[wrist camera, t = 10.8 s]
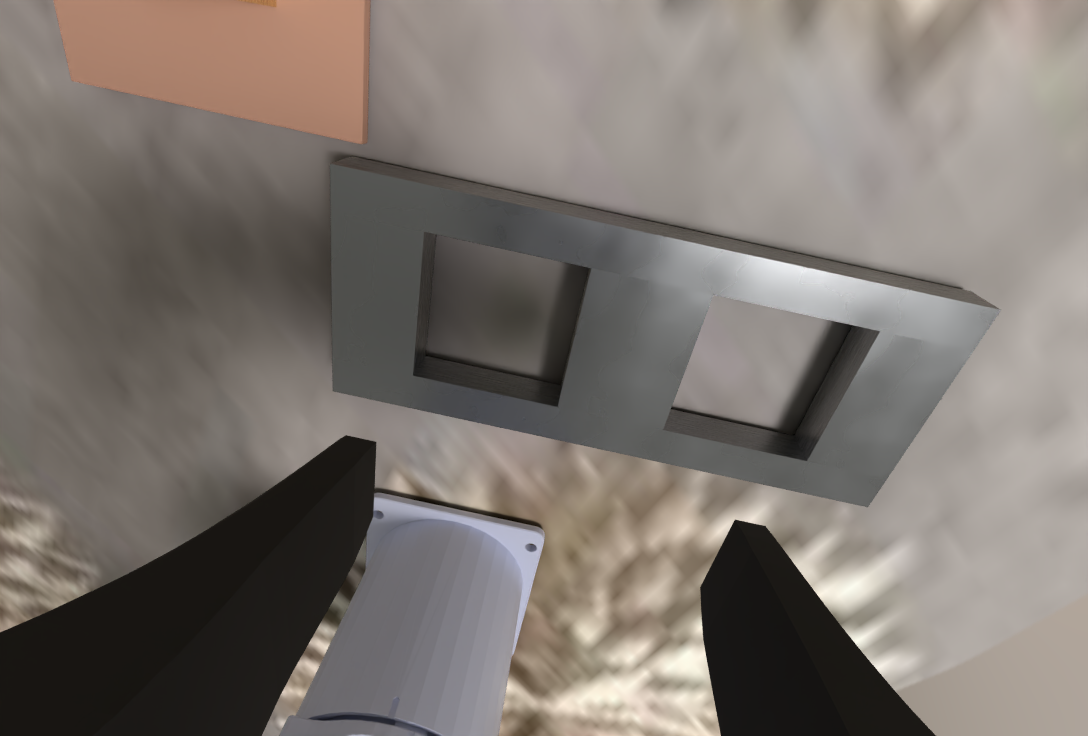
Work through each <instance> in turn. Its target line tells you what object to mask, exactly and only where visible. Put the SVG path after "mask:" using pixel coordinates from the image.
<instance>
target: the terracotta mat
mask: <svg viewBox="0 0 1088 736" xmlns="http://www.w3.org/2000/svg"><path fill="white" fill-rule="evenodd" d="M54 5H55V9H56V14H57V18H58V22H59V27H60V31H61V36H62V40H63V45H64V49H65V53H66V58H67V62H68V67H69V71H70V76H71V80H72V81H75V82H79V83H84V84H88V85H93V86H98V87H102V88H107V89H111V90H116V91H120V92H125V93H130V94H134V95H139V96H143V97H148V98H152V99H157V100H162V101H166V102H171V103H175V104H180V105H185V106H189V107H194V108H198V109H203V110H207V111H212V112H217V113H221V114H226V115H230V116H235V117H239V118H244V119H249V120H253V121H258V122H262V123H267V124H271V125H276V126H281V127H285V128H290V129H294V130H299V131H304V132H308V133H313V134H317V135H322V136H326V137H331V138H336V139H340V140H345V141H349V142H354V143H358V144H365V143H367V134H368V87H369V39H370V0H276V5H277V7H272V6H266V5H260V4H255V3H249V2H244V1H238V0H54Z"/></svg>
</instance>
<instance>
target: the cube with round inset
mask: <svg viewBox="0 0 1088 736" xmlns="http://www.w3.org/2000/svg"><path fill="white" fill-rule="evenodd" d="M238 1H244V2H249V3H255V4H260V5H266V6H272V7H277V5H276V0H238Z"/></svg>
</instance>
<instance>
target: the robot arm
mask: <svg viewBox="0 0 1088 736" xmlns="http://www.w3.org/2000/svg"><path fill="white" fill-rule="evenodd" d="M375 462H376V442H374V441H370V440H365V439H360V438H356V437H351V436H347V435H346V436H344V437H342V438H341V439H339V440H338V441H337V442H335V443H334V444H332V445H331V446H330V447H328V448H327V449H326V450H324V451H323V452H321V453H320V454H319V455H317V456H316V457H315V458H313V459H312V460H310V461H309V462H308V463H306V464H305V465H304V466H302V467H301V468H299V469H298V470H297V471H295V472H294V473H292V474H291V475H290V476H288V477H287V478H285V479H284V480H282V481H281V482H280V483H278V484H277V485H275V486H274V487H272V488H271V489H269V490H268V491H266V492H265V493H263V494H262V495H260V496H259V497H258V498H256V499H255V500H253V501H252V502H250V503H249V504H247V505H246V506H244V507H243V508H241V509H239V510H238V511H236V512H235V513H233V514H231V515H230V516H228V517H227V518H225V519H223V520H222V521H220V522H219V523H217V524H215V525H214V526H212V527H210V528H209V529H207V530H206V531H204V532H202V533H201V534H199V535H197V536H196V537H194V538H192V539H191V540H189V541H187V542H185V543H184V544H182V545H180V546H179V547H177V548H175V549H173V550H171V551H170V552H168V553H166V554H164V555H162V556H161V557H159V558H157V559H155V560H153V561H151V562H149V563H148V564H146V565H144V566H142V567H140V568H138V569H136V570H134V571H133V572H131V573H129V574H127V575H125V576H123V577H121V578H119V579H117V580H115V581H112V582H110V583H108V584H106V585H104V586H102V587H100V588H98V589H96V590H94V591H91V592H89V593H87V594H85V595H83V596H81V597H79V598H77V599H74V600H72V601H70V602H68V603H66V604H64V605H62V606H60V607H57V608H55V609H53V610H51V611H49V612H47V613H45V614H42V615H40V616H38V617H35V618H33V619H31V620H29V621H26V622H24V623H21V624H19V625H17V626H14V627H12V628H10V629H7V630H5V631H3V632H0V736H262V734H263V732H264V729H265V727H266V725H267V723H268V721H269V719H270V716H271V714H272V712H273V710H274V708H275V705H276V703H277V701H278V699H279V697H280V695H281V693H282V691H283V689H284V687H285V685H286V683H287V682H288V680H289V678H290V676H291V674H292V672H293V670H294V668H295V667H296V665H297V663H298V661H299V660H300V658H301V656H302V654H303V653H304V651H305V649H306V647H307V645H308V644H309V642H310V640H311V638H312V637H313V635H314V633H315V631H316V630H317V628H318V626H319V624H320V623H321V621H322V619H323V617H324V616H325V614H326V612H327V610H328V608H329V607H330V605H331V603H332V601H333V600H334V598H335V596H336V594H337V593H338V591H339V589H340V587H341V585H342V584H343V582H344V580H345V578H346V576H347V575H348V573H349V571H350V569H351V567H352V566H353V564H354V561H355V559H356V557H357V554H358V552H359V550H360V548H361V545H362V543H363V541H364V538H365V536H366V533H367V543H366V571H365V573H364V575H363V577H362V579H361V581H360V583H359V585H358V587H357V589H356V591H355V593H354V596H353V598H352V600H351V602H350V604H349V606H348V608H347V610H346V612H345V614H344V616H343V618H342V620H341V623H340V625H339V627H338V629H337V631H336V633H335V635H334V637H333V639H332V641H331V643H330V645H329V647H328V650H327V652H326V654H325V656H324V658H323V660H322V662H321V664H320V666H319V668H318V670H317V672H316V675H315V677H314V679H313V681H312V683H311V685H310V687H309V689H308V691H307V693H306V695H305V697H304V699H303V702H302V704H301V706H300V708H299V710H298V712H297V714H296V716H294V715H291V716H289V717H288V718H287V720H286V722H285V724H284V726H283V728H282V731H281V733H280V735H279V736H499V730H500V724H501V718H502V712H503V705H504V699H505V693H506V687H507V681H508V675H509V669H510V663H511V656H512V655H513V654H514V651H515V647H516V643H517V640H518V636H519V632H520V629H521V625H522V621H523V618H524V614H525V610H526V607H527V603H528V599H529V595H530V592H531V588H532V584H533V581H534V577H535V573H536V570H537V566H538V562H539V559H540V555H541V551H542V547H543V544H544V538H545V533H544V531H543V530H542V529H541V528H539V527H536V526H532V525H528V524H523V523H518V522H514V521H509V520H505V519H500V518H495V517H491V516H486V515H481V514H477V513H472V512H468V511H463V510H458V509H454V508H449V507H444V506H440V505H435V504H431V503H426V502H421V501H417V500H412V499H408V498H403V497H398V496H394V495H389V494H384V493H374V487H375ZM377 510H379V511H381V512H382V513H381V512H379V511H377ZM530 544H534V545H530ZM700 590H701V612H702V627H703V640H704V645H705V651H706V657H707V663H708V668H709V674H710V679H711V685H712V690H713V695H714V701H715V706H716V711H717V717H718V722H719V727H720V733H721V736H935V735H934V733H933V732H932V731H931V730H930V729H929V728H928V727H927V726H926V725H925V724H924V723H923V722H922V721H921V720H920V718H919V717H918V716H917V715H916V714H915V713H914V712H913V711H912V710H911V709H910V708H909V706H908V705H907V704H906V703H905V702H904V701H903V700H902V699H901V697H900V696H899V695H898V694H897V693H896V692H895V691H894V690H893V688H892V687H891V686H890V685H889V684H888V682H887V681H886V680H885V679H884V678H883V676H882V675H881V674H880V673H879V672H878V671H877V669H876V668H875V667H874V666H873V665H872V663H871V662H870V661H869V660H868V659H867V658H866V656H865V655H864V654H863V653H862V651H861V650H860V649H859V648H858V647H857V645H856V644H855V643H854V642H853V640H852V639H851V638H850V637H849V635H848V634H847V633H846V632H845V630H844V629H843V628H842V627H841V625H840V624H839V623H838V621H837V620H836V619H835V618H834V616H833V615H832V614H831V612H830V611H829V610H828V608H827V607H826V606H825V605H824V603H823V602H822V601H821V599H820V598H819V597H818V595H817V594H816V593H815V591H814V590H813V589H812V587H811V586H810V585H809V583H808V582H807V581H806V579H805V578H804V577H803V575H802V574H801V573H800V571H799V570H798V569H797V567H796V566H795V565H794V563H793V562H792V560H791V559H790V558H789V556H788V555H787V554H786V552H785V551H784V550H783V548H782V547H781V546H780V544H779V543H778V542H777V540H776V539H775V538H774V537H773V535H772V534H771V533H770V531H769V530H768V529H767V528H766V526H762V525H757V524H753V523H748V522H743V521H739V520H735V521H734V523H733V525H732V527H731V528H730V530H729V532H728V534H727V536H726V538H725V540H724V542H723V544H722V546H721V548H720V550H719V552H718V554H717V556H716V558H715V560H714V562H713V564H712V566H711V567H710V569H709V571H708V573H707V575H706V577H705V579H704V581H703V583H702V585H701V587H700Z"/></svg>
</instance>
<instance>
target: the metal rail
mask: <svg viewBox="0 0 1088 736" xmlns="http://www.w3.org/2000/svg"><path fill="white" fill-rule="evenodd" d="M330 203H331V288H332V373H333V391H335V392H339V393H344V394H348V395H353V396H358V397H362V398H367V399H371V400H376V401H381V402H385V403H390V404H394V405H399V406H404V407H408V408H413V409H417V410H422V411H427V412H431V413H436V414H441V415H445V416H450V417H454V418H459V419H464V420H468V421H473V422H477V423H482V424H487V425H491V426H496V427H500V428H505V429H510V430H514V431H519V432H523V433H528V434H533V435H537V436H542V437H547V438H551V439H556V440H560V441H565V442H570V443H574V444H579V445H583V446H588V447H593V448H597V449H602V450H606V451H611V452H616V453H620V454H625V455H630V456H634V457H639V458H643V459H648V460H653V461H657V462H662V463H666V464H671V465H676V466H680V467H685V468H689V469H694V470H699V471H703V472H708V473H712V474H717V475H722V476H726V477H731V478H736V479H740V480H745V481H749V482H754V483H759V484H763V485H768V486H772V487H777V488H782V489H786V490H791V491H795V492H800V493H805V494H809V495H814V496H818V497H823V498H828V499H832V500H837V501H842V502H846V503H851V504H855V505H860V506H865V507H868V506H869V505H870V503H871V502H872V500H873V499H874V497H875V496H876V494H877V493H878V491H879V490H880V488H881V487H882V486H883V484H884V483H885V481H886V480H887V478H888V477H889V475H890V474H891V472H892V471H893V469H894V468H895V466H896V465H897V463H898V462H899V460H900V459H901V457H902V456H903V454H904V453H905V451H906V450H907V449H908V447H909V446H910V444H911V443H912V441H913V440H914V438H915V437H916V435H917V434H918V432H919V431H920V429H921V428H922V426H923V425H924V423H925V422H926V420H927V419H928V417H929V416H930V414H931V413H932V412H933V410H934V409H935V407H936V406H937V404H938V403H939V401H940V400H941V398H942V397H943V395H944V394H945V392H946V391H947V389H948V388H949V386H950V385H951V383H952V382H953V380H954V379H955V377H956V376H957V375H958V373H959V372H960V370H961V369H962V367H963V366H964V364H965V363H966V361H967V360H968V358H969V357H970V355H971V354H972V352H973V351H974V349H975V348H976V346H977V345H978V343H979V342H980V340H981V339H982V338H983V336H984V335H985V333H986V332H987V330H988V329H989V327H990V326H991V324H992V323H993V321H994V320H995V318H996V317H997V315H998V314H999V312H1000V311H1001V310H1000V309H999V308H997V307H995V306H994V305H992V304H990V303H989V302H987V301H986V300H984V299H982V298H981V297H979V296H978V295H976V294H974V293H973V292H971V291H967V290H962V289H958V288H953V287H948V286H944V285H939V284H935V283H930V282H926V281H921V280H916V279H912V278H907V277H903V276H898V275H894V274H889V273H884V272H880V271H875V270H871V269H866V268H861V267H857V266H852V265H848V264H843V263H839V262H834V261H829V260H825V259H820V258H816V257H811V256H807V255H802V254H797V253H793V252H788V251H784V250H779V249H774V248H770V247H765V246H761V245H756V244H752V243H747V242H742V241H738V240H733V239H729V238H724V237H720V236H715V235H710V234H706V233H701V232H697V231H692V230H687V229H683V228H678V227H674V226H669V225H665V224H660V223H655V222H651V221H646V220H642V219H637V218H633V217H628V216H623V215H619V214H614V213H610V212H605V211H600V210H596V209H591V208H587V207H582V206H578V205H573V204H568V203H564V202H559V201H555V200H550V199H546V198H541V197H536V196H532V195H527V194H523V193H518V192H514V191H509V190H504V189H500V188H495V187H491V186H486V185H481V184H477V183H472V182H468V181H463V180H459V179H454V178H449V177H445V176H440V175H436V174H431V173H427V172H422V171H417V170H413V169H408V168H404V167H399V166H394V165H390V164H385V163H381V162H376V161H372V160H367V159H362V158H358V157H353V156H350V157H347V158H345V159H342V160H339V161H336V162H333V163H330ZM436 234H437V235H441V236H446V237H450V238H455V239H460V240H464V241H469V242H473V243H478V244H483V245H487V246H492V247H496V248H501V249H505V250H510V251H515V252H519V253H524V254H528V255H533V256H538V257H542V258H547V259H551V260H556V261H560V262H565V263H570V264H574V265H579V266H583V267H588V268H589V270H588V274H587V279H586V283H585V287H584V291H583V295H582V299H581V303H580V308H579V312H578V316H577V320H576V324H575V328H574V332H573V336H572V341H571V345H570V349H569V353H568V357H567V361H566V365H565V370H564V374H563V378H562V382H561V385H558V384H553V383H548V382H544V381H539V380H535V379H530V378H525V377H521V376H516V375H512V374H507V373H502V372H498V371H493V370H488V369H484V368H479V367H475V366H470V365H465V364H461V363H456V362H452V361H447V360H442V359H438V358H433V357H429V356H426V345H427V334H428V323H429V311H430V300H431V289H432V278H433V266H434V255H435V244H436ZM713 295H716V296H721V297H726V298H730V299H735V300H739V301H744V302H749V303H753V304H758V305H762V306H767V307H771V308H776V309H781V310H785V311H790V312H794V313H799V314H804V315H808V316H813V317H817V318H822V319H826V320H831V321H836V322H840V323H845V324H849V325H853V326H852V328H851V330H850V332H849V334H848V335H847V337H846V339H845V341H844V343H843V345H842V347H841V349H840V351H839V352H838V354H837V356H836V358H835V360H834V362H833V364H832V366H831V367H830V369H829V371H828V373H827V375H826V377H825V379H824V381H823V382H822V384H821V386H820V388H819V390H818V392H817V394H816V396H815V398H814V399H813V401H812V403H811V405H810V407H809V409H808V411H807V413H806V414H805V416H804V418H803V420H802V422H801V424H800V426H799V428H798V429H797V431H796V433H795V435H794V436H792V435H788V434H783V433H778V432H774V431H769V430H765V429H760V428H755V427H751V426H746V425H742V424H737V423H732V422H728V421H723V420H719V419H714V418H709V417H705V416H700V415H696V414H691V413H686V412H682V411H677V410H673V409H671V407H672V404H673V402H674V399H675V396H676V394H677V391H678V388H679V386H680V383H681V380H682V378H683V375H684V372H685V370H686V367H687V364H688V362H689V359H690V356H691V354H692V351H693V348H694V346H695V343H696V340H697V338H698V335H699V332H700V330H701V327H702V324H703V322H704V319H705V316H706V314H707V311H708V308H709V305H710V303H711V300H712V297H713Z"/></svg>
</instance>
